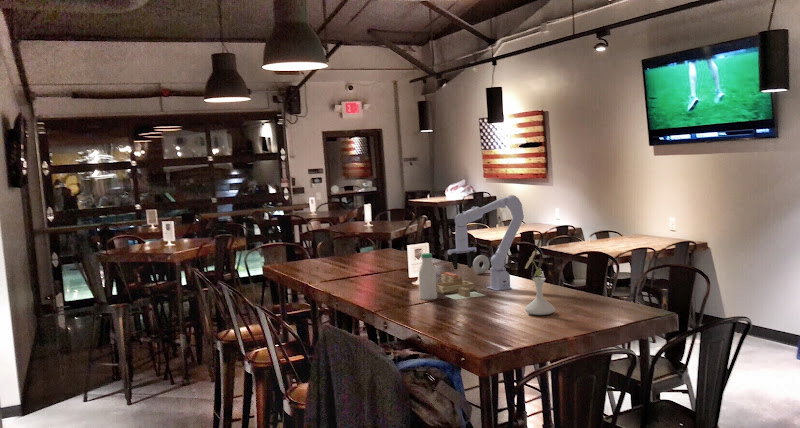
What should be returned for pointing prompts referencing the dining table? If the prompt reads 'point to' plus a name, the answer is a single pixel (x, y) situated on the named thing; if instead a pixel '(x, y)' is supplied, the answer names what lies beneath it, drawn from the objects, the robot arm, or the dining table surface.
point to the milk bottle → (427, 278)
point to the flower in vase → (538, 295)
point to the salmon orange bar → (451, 274)
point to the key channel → (449, 278)
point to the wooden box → (453, 286)
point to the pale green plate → (464, 294)
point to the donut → (485, 264)
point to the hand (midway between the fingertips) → (462, 268)
